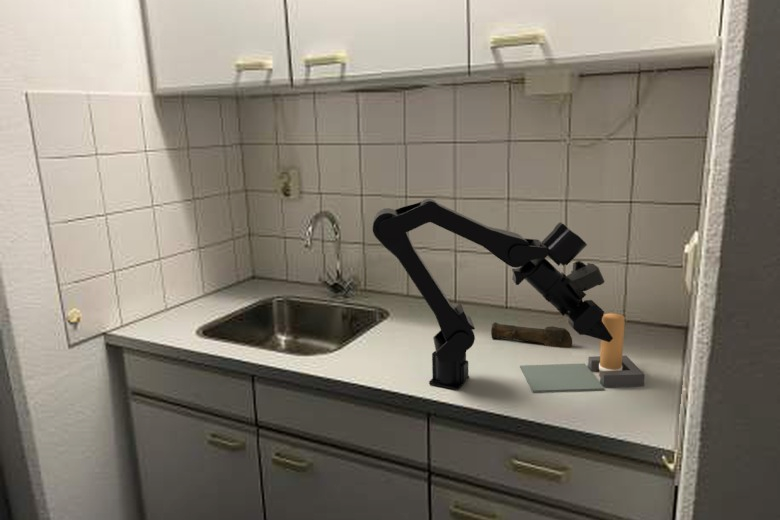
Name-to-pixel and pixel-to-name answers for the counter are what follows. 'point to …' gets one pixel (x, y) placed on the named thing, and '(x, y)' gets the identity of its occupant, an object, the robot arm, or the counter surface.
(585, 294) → the robot arm
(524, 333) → the wooden log
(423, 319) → the counter surface
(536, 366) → the mat
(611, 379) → the dark grey piece
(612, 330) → the orange peg
